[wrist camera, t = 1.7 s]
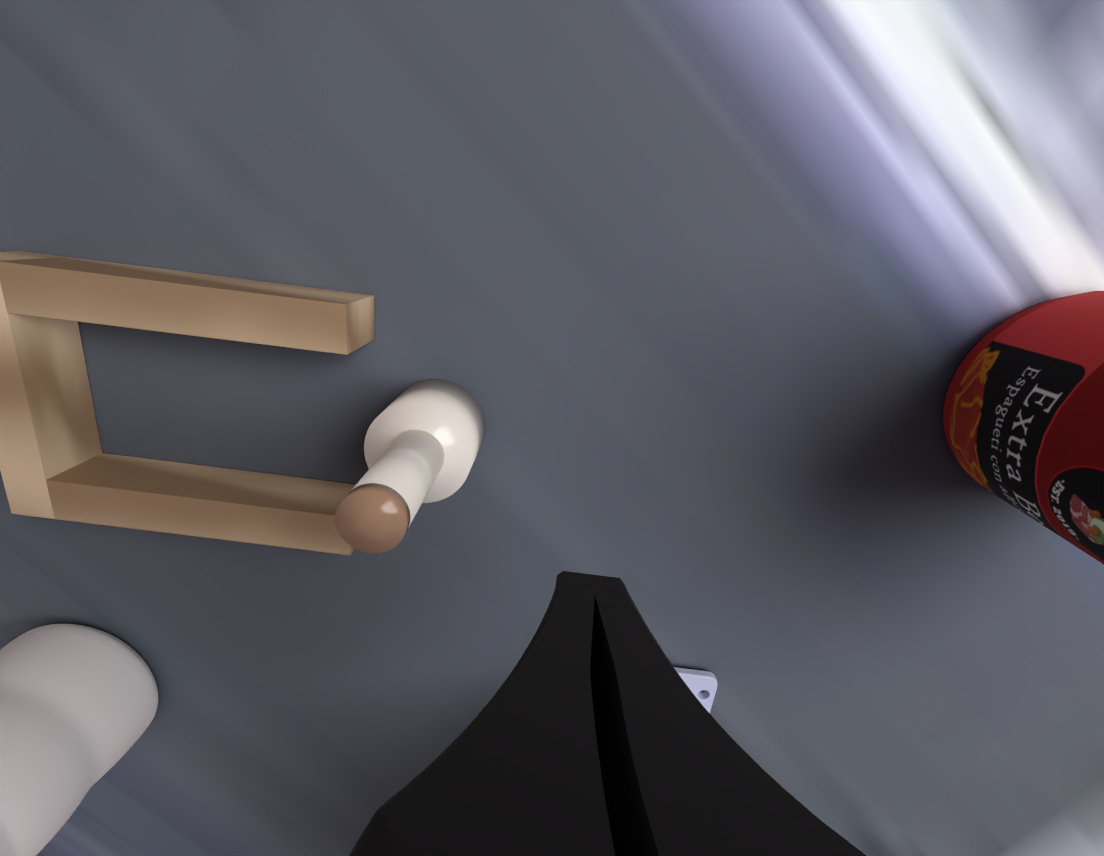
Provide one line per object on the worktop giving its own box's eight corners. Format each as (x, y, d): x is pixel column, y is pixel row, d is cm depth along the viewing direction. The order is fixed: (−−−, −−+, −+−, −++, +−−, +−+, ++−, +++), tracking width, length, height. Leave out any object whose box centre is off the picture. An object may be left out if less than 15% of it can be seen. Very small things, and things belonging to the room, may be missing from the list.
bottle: (481, 472, 22) (436, 590, 15) (391, 461, 22) (303, 573, 15) (488, 385, 20) (443, 468, 13) (393, 373, 20) (297, 450, 13)
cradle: (373, 521, 23) (350, 555, 20) (70, 483, 23) (11, 513, 20) (374, 295, 19) (346, 304, 17) (20, 251, 19) (-56, 254, 17)
